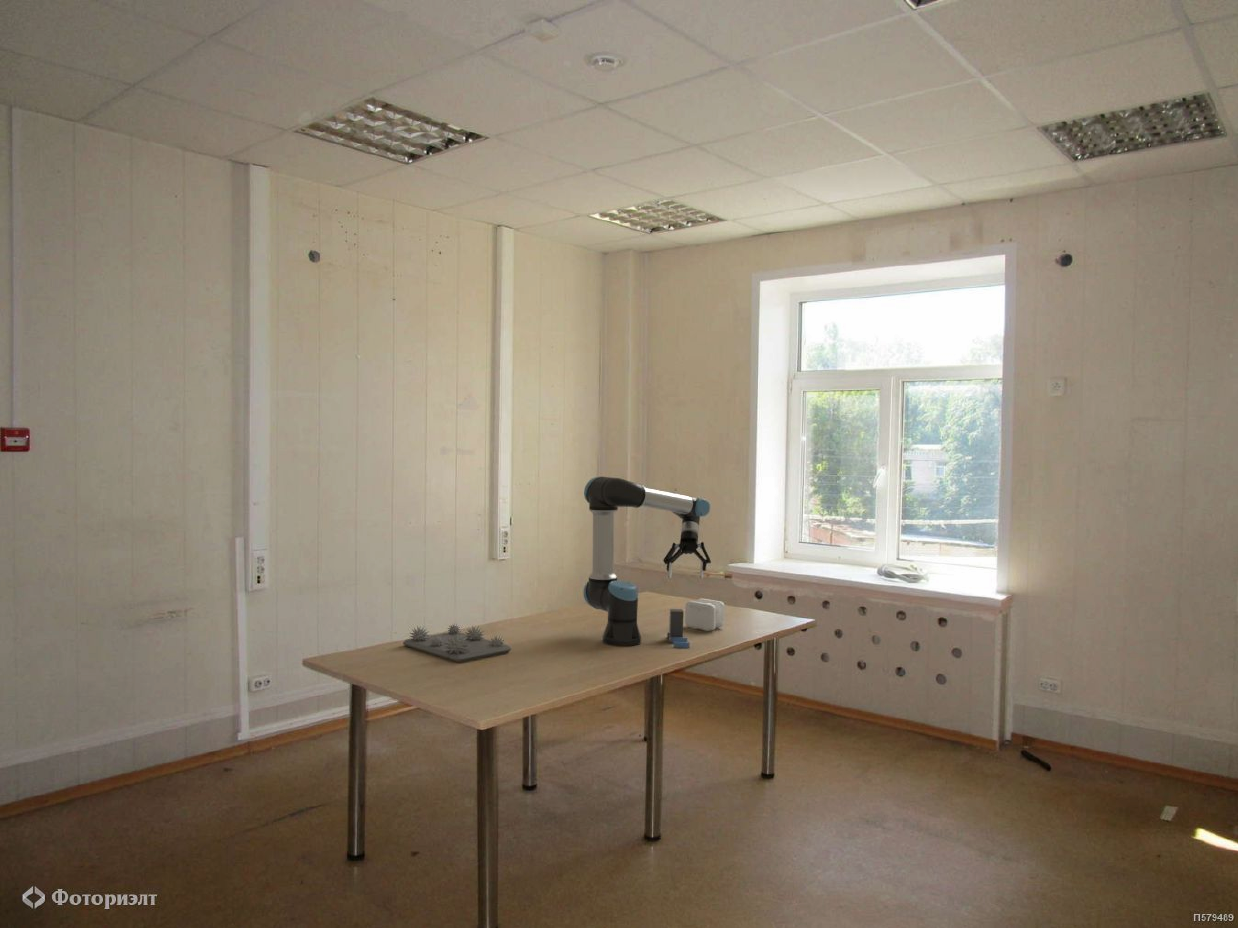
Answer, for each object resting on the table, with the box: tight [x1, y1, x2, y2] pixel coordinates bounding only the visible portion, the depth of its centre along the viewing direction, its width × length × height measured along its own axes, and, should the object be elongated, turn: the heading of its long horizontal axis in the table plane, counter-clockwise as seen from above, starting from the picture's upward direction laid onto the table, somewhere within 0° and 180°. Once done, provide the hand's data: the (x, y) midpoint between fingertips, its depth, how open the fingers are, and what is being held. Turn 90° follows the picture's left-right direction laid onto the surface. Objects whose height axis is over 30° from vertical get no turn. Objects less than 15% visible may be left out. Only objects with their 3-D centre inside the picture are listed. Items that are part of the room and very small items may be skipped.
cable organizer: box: [684, 598, 726, 632], centre depth 358 cm, size 15×11×12 cm
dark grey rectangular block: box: [668, 608, 684, 637], centre depth 334 cm, size 5×5×12 cm
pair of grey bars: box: [666, 631, 685, 643], centre depth 334 cm, size 6×9×2 cm
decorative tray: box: [402, 623, 512, 663], centre depth 307 cm, size 35×26×10 cm
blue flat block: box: [671, 637, 691, 649], centre depth 325 cm, size 6×9×2 cm
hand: (685, 577), depth 347 cm, fingers open, 13 cm apart
